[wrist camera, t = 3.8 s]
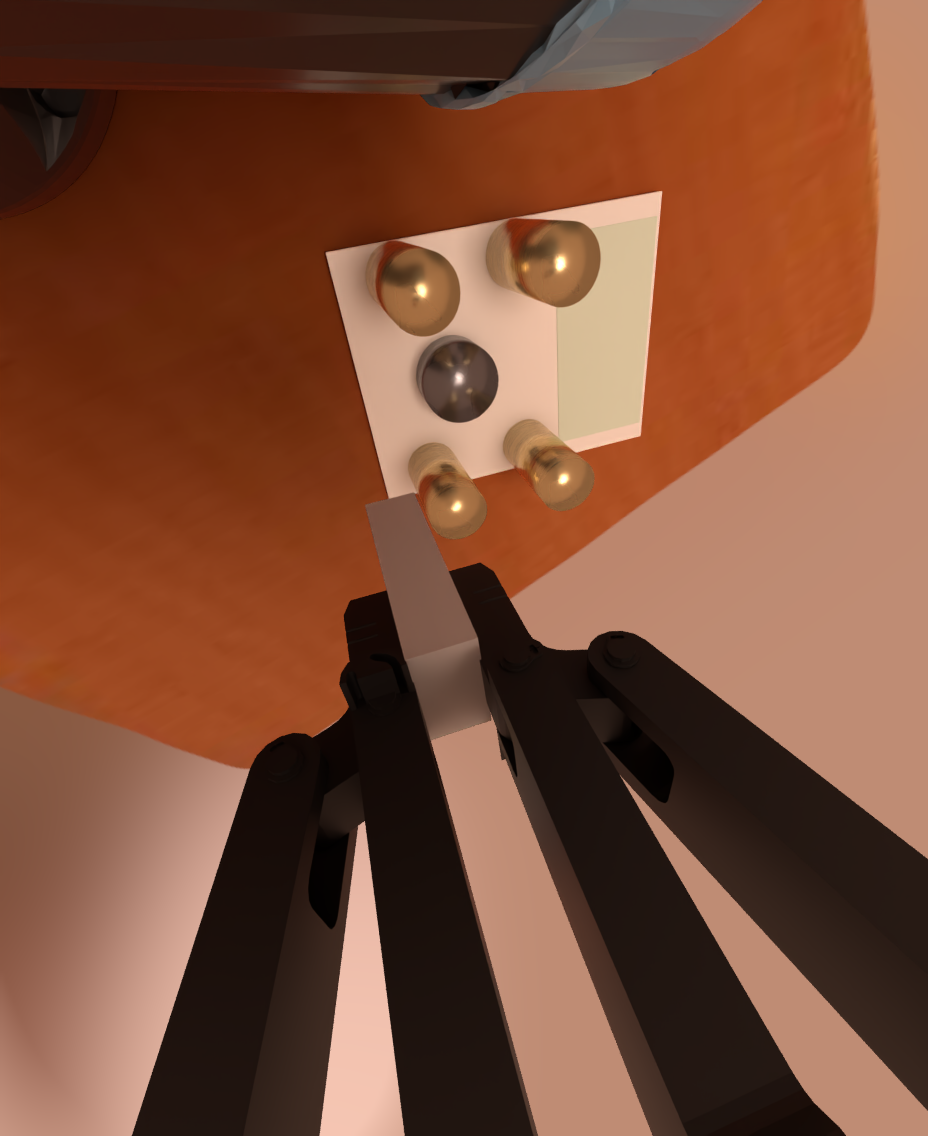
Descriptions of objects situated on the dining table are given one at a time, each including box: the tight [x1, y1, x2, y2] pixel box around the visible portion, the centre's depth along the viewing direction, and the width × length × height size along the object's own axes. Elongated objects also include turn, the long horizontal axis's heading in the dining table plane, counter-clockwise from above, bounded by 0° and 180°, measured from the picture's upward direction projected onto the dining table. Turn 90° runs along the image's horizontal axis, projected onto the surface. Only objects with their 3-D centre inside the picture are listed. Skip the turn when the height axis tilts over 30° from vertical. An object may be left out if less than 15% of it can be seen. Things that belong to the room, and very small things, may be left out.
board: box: [325, 191, 662, 499], centre depth 28 cm, size 13×17×1 cm
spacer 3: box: [486, 218, 601, 307], centre depth 22 cm, size 3×3×6 cm
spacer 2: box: [408, 442, 487, 539], centre depth 28 cm, size 3×3×6 cm
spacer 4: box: [503, 419, 594, 511], centre depth 29 cm, size 3×3×6 cm
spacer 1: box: [365, 241, 461, 337], centre depth 22 cm, size 3×3×6 cm
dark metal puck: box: [416, 335, 499, 423], centre depth 27 cm, size 4×4×2 cm
